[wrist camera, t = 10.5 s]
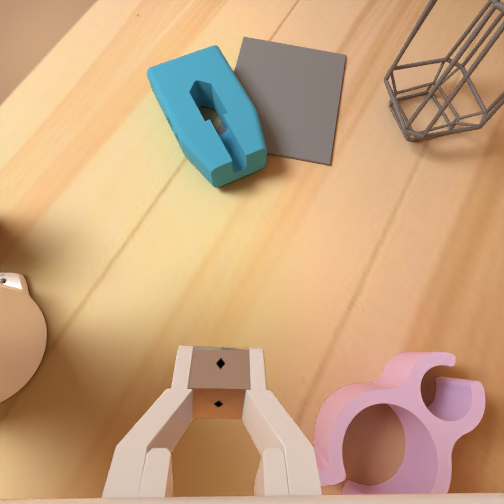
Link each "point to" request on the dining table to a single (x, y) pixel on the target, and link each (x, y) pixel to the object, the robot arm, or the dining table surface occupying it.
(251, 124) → the block
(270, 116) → the mat
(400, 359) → the clip
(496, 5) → the geometric lantern
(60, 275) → the dining table surface
